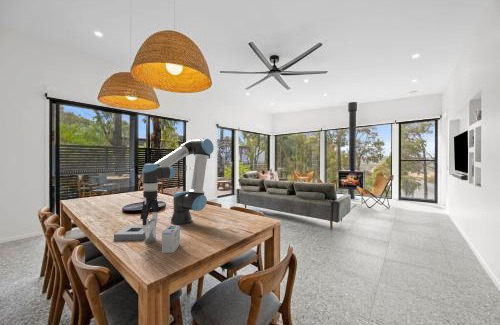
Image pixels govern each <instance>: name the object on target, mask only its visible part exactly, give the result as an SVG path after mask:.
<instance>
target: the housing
mask: <svg viewBox="0 0 500 325" xmlns="http://www.w3.org/2000/svg"><path fill="white" fill-rule="evenodd" d="M143 240H145V231H142V225H127V226H126V227H124V228H122V229H120V230H119V231H117V232H116V233H114V234H113V241H143Z"/></svg>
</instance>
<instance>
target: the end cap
mask: <svg viewBox="0 0 500 325" xmlns="http://www.w3.org/2000/svg"><path fill="white" fill-rule="evenodd" d="M147 219H148V231H145V238H144V243H147V244H149V243H153V242H156V241H157V223H156V219H152V218H147Z"/></svg>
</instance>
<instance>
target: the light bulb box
mask: <svg viewBox="0 0 500 325" xmlns="http://www.w3.org/2000/svg"><path fill="white" fill-rule="evenodd" d="M180 232H181V226H180V225H167V227H166V228H165V229H164V230H163V231H162V232H161V253H163V254H165V253H175V252H176V251H177V249H178V247H179V246H180V243H181V242H180V241H181V238H180V237H181V233H180Z"/></svg>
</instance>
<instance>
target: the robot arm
mask: <svg viewBox="0 0 500 325" xmlns="http://www.w3.org/2000/svg"><path fill="white" fill-rule="evenodd" d="M214 147H215V146H214V143H213V142H212V140H210V139H209V138H193V139H192V138H191V139H190V140H187V141H185V142H184V143H182V144H181V145H179V146H178V148H176V149H175V150H174V151H172V152H170V153H169V154H167V155H165V156H164V157H162V158H161V159H159V160H158V161H156V162H153V163H144V165H143V168H142V170H141V174H142V178H143V179H142V180H143V184H142V187H143V188H142V189H143V192H142V196H143V198H145V200H143V202H142V208H141V213H140V217H139V218H140V220H142V221H141V222H142V225H141V226H142V231H148V219H149V218H148V217H149V214H150V211H151V210H152V213H151V214H152V218H151V219H156V224H158V213H159V212H160V208H159V203H158V197H159V196H158V193H159V191H158V189H159V187H158V186H159V185H158V182H159V180H167V179H172V178H174V177H175V174H176V170H175V168H174V167H173V165H174V164H176V163H177V162H179V161H180V160H182V159H183V158H184V157H188V156H191V155H193V156H194V158H195V159H194V166H193V167H194V168H193V174H192V180H191V187H190V189H189V190H186V191H185V190H184V191H178V192H174V194H173V201H172V202H173V204H172V205H173V212H172V216H171V219H170V224H172V225H176V226H180V225H186V224H190V223H191V222H192V220H193V219H192V215H191V212H190V211H194V212H195V211H196V212H200V211H202V210H204V208H205V207H206V205H207V202H208V200H207V199H208V198H207V196H206V195H205V191H204V183H205V178H206V177H205V176H206V168H207V162H208V159H209V158H210V155H211V154H212V153H213V152H214Z"/></svg>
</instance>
